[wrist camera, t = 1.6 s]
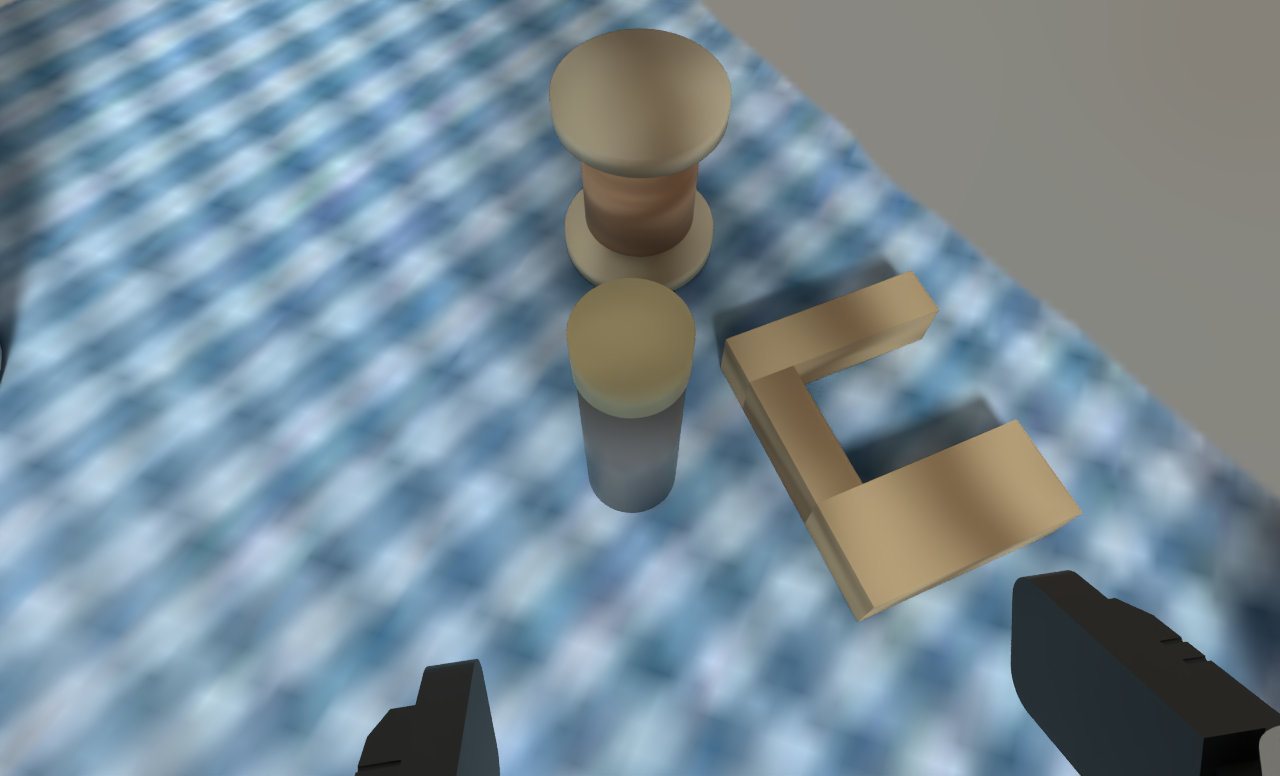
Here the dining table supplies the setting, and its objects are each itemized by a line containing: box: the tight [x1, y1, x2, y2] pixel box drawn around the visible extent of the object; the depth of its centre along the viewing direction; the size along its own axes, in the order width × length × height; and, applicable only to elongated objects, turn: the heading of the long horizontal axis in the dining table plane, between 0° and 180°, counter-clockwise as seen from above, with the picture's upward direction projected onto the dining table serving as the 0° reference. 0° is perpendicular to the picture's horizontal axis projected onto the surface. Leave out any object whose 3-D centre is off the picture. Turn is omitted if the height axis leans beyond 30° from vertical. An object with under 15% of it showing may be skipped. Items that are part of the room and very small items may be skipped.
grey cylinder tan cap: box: [567, 278, 695, 513], centre depth 29 cm, size 4×4×11 cm
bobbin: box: [549, 29, 731, 291], centre depth 36 cm, size 7×7×9 cm
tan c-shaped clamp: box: [720, 271, 1083, 622], centre depth 33 cm, size 9×12×2 cm
